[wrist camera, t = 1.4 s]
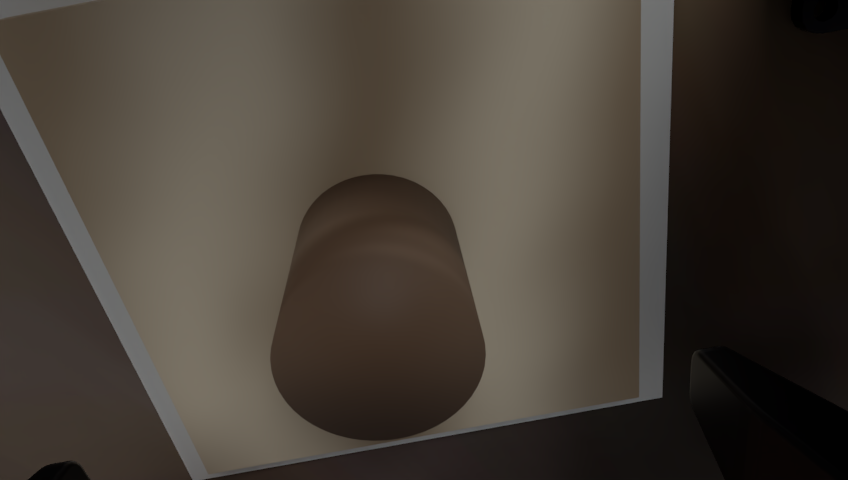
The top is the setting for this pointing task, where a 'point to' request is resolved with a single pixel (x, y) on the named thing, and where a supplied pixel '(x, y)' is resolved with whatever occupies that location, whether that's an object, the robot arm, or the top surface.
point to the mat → (653, 249)
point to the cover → (354, 205)
